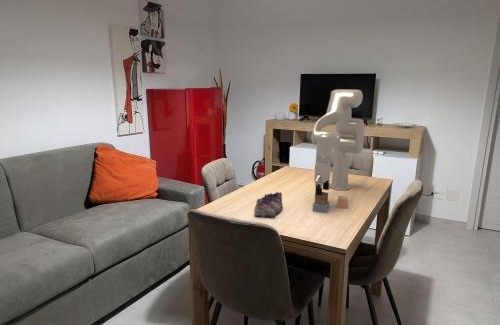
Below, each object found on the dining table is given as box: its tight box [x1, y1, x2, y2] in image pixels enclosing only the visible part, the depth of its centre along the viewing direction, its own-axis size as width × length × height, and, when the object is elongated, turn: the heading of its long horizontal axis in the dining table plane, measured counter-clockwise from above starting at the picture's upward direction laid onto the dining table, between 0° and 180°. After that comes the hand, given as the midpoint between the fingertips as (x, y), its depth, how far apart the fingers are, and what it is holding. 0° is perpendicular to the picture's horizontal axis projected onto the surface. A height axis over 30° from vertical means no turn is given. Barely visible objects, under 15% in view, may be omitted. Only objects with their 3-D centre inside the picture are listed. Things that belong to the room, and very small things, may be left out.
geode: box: [253, 191, 283, 218], centre depth 175 cm, size 20×12×10 cm, turn 154°
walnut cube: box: [314, 191, 329, 205], centre depth 178 cm, size 5×5×5 cm
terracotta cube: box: [336, 195, 349, 210], centre depth 184 cm, size 5×5×5 cm
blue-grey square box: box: [312, 201, 330, 214], centre depth 179 cm, size 7×7×4 cm
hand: (322, 192), depth 178 cm, fingers open, 9 cm apart
